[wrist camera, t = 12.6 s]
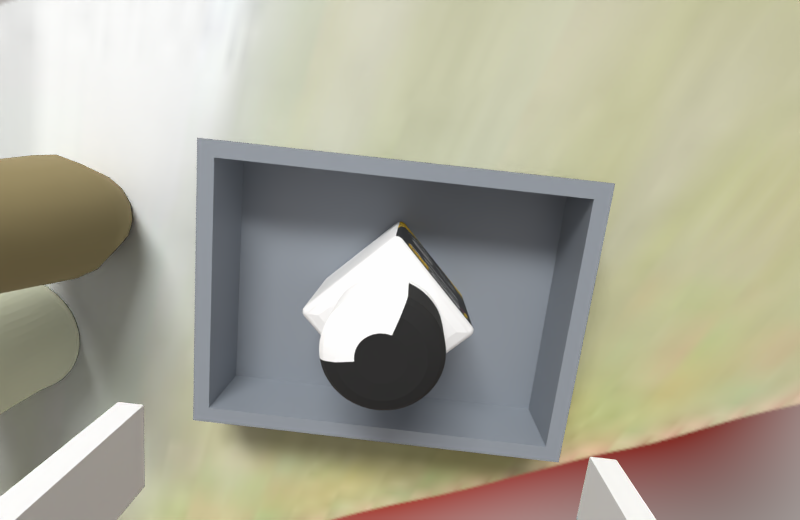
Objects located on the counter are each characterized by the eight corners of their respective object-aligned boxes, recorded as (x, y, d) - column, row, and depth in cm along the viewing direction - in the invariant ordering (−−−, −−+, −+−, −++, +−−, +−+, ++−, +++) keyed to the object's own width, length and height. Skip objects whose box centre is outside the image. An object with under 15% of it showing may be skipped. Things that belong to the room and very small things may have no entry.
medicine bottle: (464, 297, 33) (490, 372, 21) (385, 354, 34) (370, 456, 22) (401, 218, 32) (393, 251, 20) (323, 280, 33) (271, 345, 21)
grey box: (581, 179, 32) (614, 183, 26) (536, 416, 35) (558, 462, 30) (234, 141, 32) (197, 137, 27) (226, 381, 36) (193, 419, 30)
